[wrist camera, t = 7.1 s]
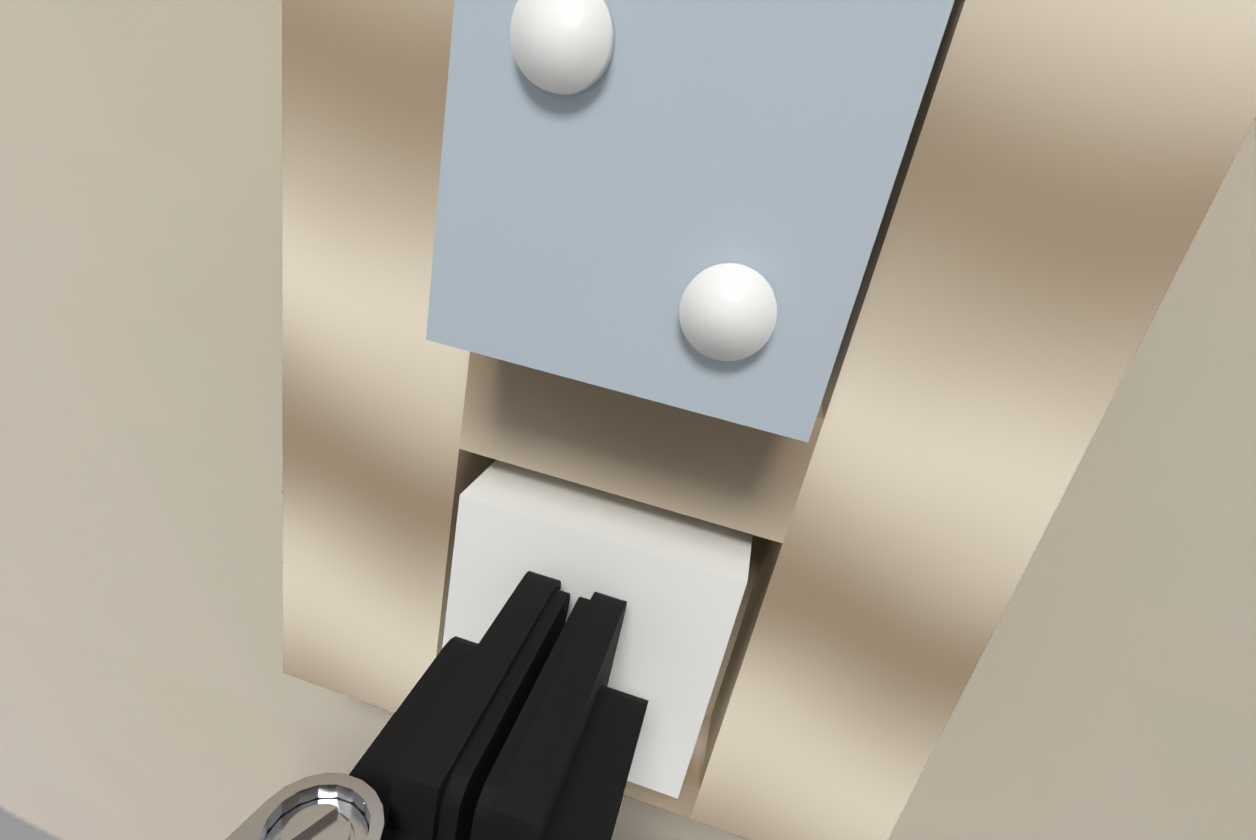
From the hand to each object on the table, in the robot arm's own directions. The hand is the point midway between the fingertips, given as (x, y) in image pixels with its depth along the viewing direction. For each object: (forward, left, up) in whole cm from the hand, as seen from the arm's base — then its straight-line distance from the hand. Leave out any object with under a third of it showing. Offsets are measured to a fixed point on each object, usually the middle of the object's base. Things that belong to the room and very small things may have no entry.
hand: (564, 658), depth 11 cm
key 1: (0, 0, -3) cm, 3 cm away
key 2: (+8, 0, -1) cm, 7 cm away
